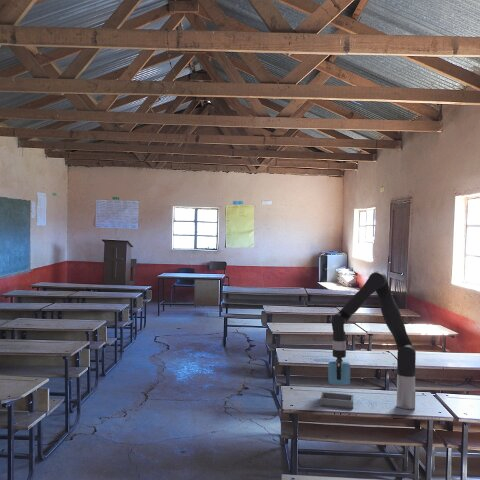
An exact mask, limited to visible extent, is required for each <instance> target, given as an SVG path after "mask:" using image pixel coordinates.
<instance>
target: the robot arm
mask: <svg viewBox="0 0 480 480" xmlns="http://www.w3.org/2000/svg"><path fill="white" fill-rule="evenodd" d="M375 292H376V295H377V296H378V301H379V307H380V310H381V314H382V315H381V316H382V317H383V320H384V323H385V325H386V327H387V329H388V330H389V332H390V333H391V335H392V337H393V339H394V342H395V344H396V349H397V355H396V357H397V361H396V362H397V363H396V365H397V366H396V407H398V408H399V409H404V410H412V409H413V410H415V409H416V360H417V359H416V357H417V355H416V353H417V351H416V349H415V347H414V345H413V344H412V342H411V340H410V337H409V336H408V333H407V329H406V326H405V323H404V319H403V316H402V314H401V312H400V309H399V307H398V305H397V302H396V300H395V298H394V296H393V294H392V292H391V289H390V285H389V281H388V278H387V275H386V274H385V273H384V272H383V271H373V272H371V274H370V275H369V276H368V278H367V279H366V281H365V283H364V284H363V286H362V287H360V288H359V290H358V291H357V292H356V293H355V294H354V295H353V296H351V298H350V299H348V301H347V302H346V303H345V304H344V305H343V307H342V308H341V309H340V310H339V311H338V312H337V313H335V314H334V315H333V316H332V317H331V328H332V357H334V358H336V359H335V361H336V369H337V371H336V372H337V380H341V369H342V363H343V362H344V360H343V359H344V358H346V357H347V342H346V337H347V336H346V331H345V326H344V325H345V324H346V323H347V322H348V321H349V320H350V318H351V317H352V316H353V315H354V314H356V312H357V311H358V310H359V309H360V308H361V307H362V306H363V305H364V303H365V302H366V301H367V300H368V299H369V297H370V296H371V295H373V294H374V293H375ZM338 369H340V371H338Z"/></svg>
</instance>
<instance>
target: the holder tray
mask: <svg viewBox="0 0 480 480" xmlns="http://www.w3.org/2000/svg"><path fill="white" fill-rule="evenodd" d="M319 403H320V407H327V408H337V409H348V410H353V409H354V394H348V393H347V394H346V393H338V392H337V393H336V392H327V391H326V392H324V391H322V392H321V395H320V402H319Z"/></svg>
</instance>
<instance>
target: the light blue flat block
mask: <svg viewBox="0 0 480 480" xmlns="http://www.w3.org/2000/svg"><path fill="white" fill-rule="evenodd" d="M327 367H328V368H327V369H328V371H327V372H328V373H327V375H328V377H327V378H328V379H327V380H328V383H329V384H330V385H341V386H342V385H343V386H348V385H350V384H351V363H350V362H349V361H343V363H342V369H341V380H337V372H336V371H337V369H336V360H335V361H334V360H331V361H328V366H327ZM338 371H340V369H338Z"/></svg>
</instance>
